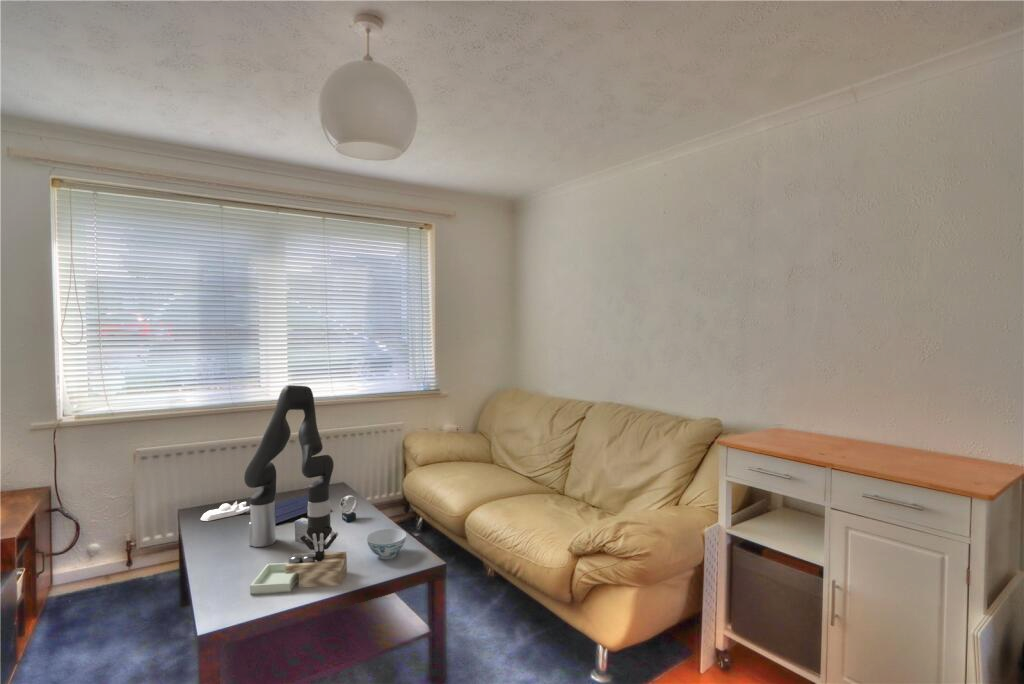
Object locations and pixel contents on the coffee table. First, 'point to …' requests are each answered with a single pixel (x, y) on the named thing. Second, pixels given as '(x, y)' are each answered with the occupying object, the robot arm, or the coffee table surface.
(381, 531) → the chinaware
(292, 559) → the puck
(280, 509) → the blue flat panel
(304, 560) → the puck
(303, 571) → the slotted board
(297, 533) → the medicine box
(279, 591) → the tray
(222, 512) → the plane toy
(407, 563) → the coffee table surface
